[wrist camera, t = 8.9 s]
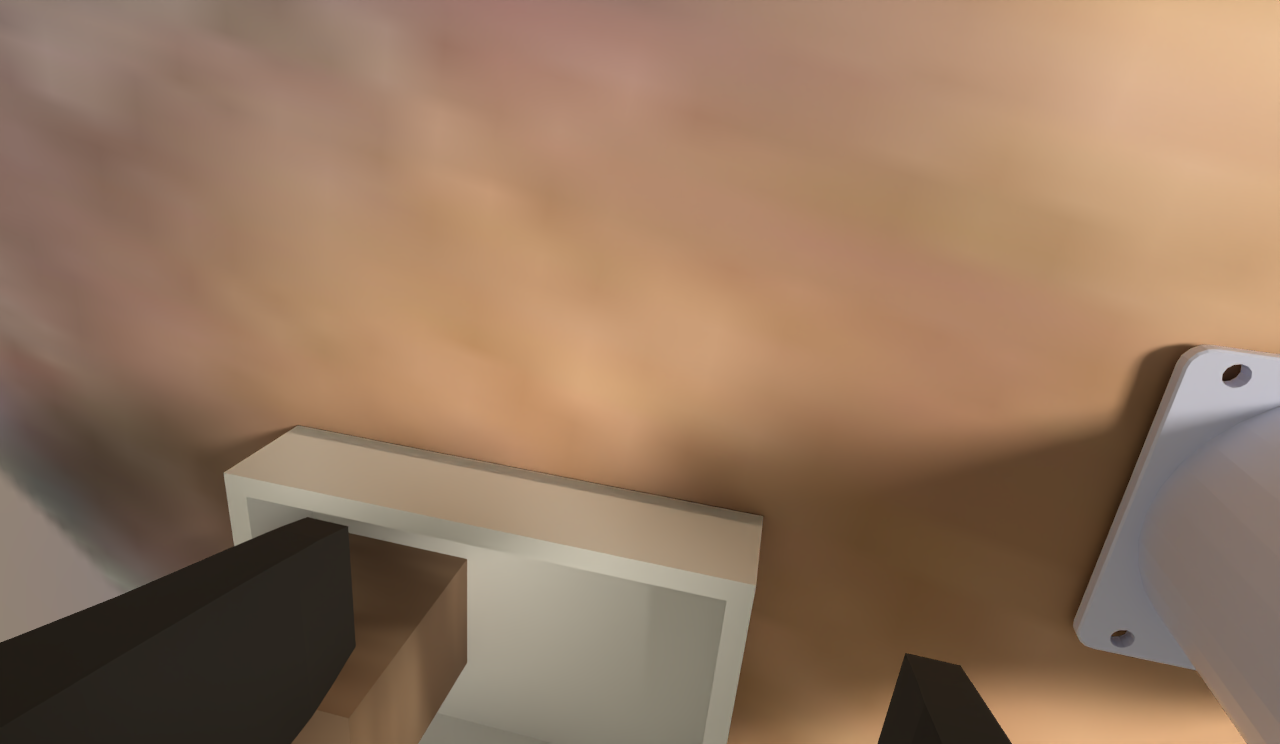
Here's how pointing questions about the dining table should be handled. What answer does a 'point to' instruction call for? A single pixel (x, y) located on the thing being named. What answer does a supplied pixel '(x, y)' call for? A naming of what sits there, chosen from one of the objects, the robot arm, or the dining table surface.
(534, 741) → the parts bin
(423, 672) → the walnut block
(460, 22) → the dining table surface
